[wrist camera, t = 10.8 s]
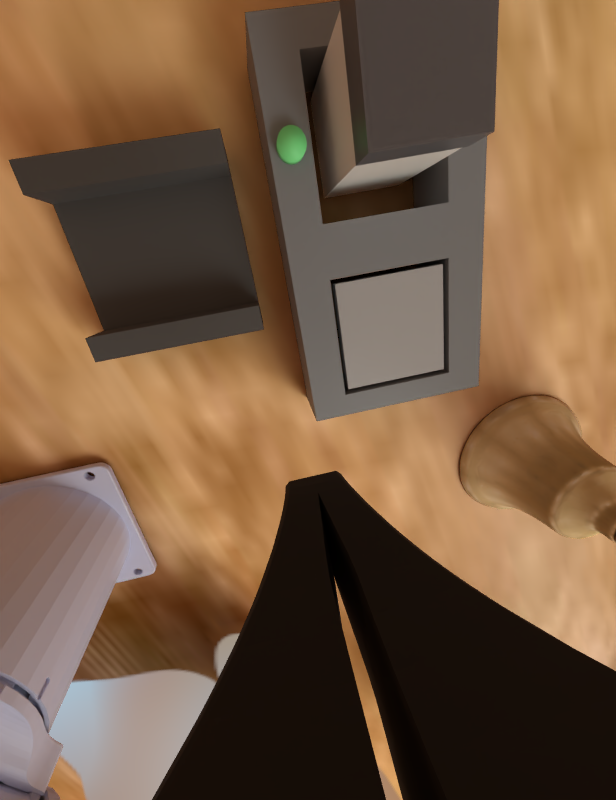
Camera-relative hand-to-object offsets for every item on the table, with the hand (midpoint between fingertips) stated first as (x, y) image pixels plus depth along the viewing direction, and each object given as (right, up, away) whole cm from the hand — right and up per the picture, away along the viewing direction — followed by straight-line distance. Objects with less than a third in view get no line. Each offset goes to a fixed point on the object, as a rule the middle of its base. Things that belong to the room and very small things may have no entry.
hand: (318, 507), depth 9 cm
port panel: (+2, +10, +7) cm, 13 cm away
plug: (+2, +14, +6) cm, 15 cm away
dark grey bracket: (-6, +9, +6) cm, 13 cm away
